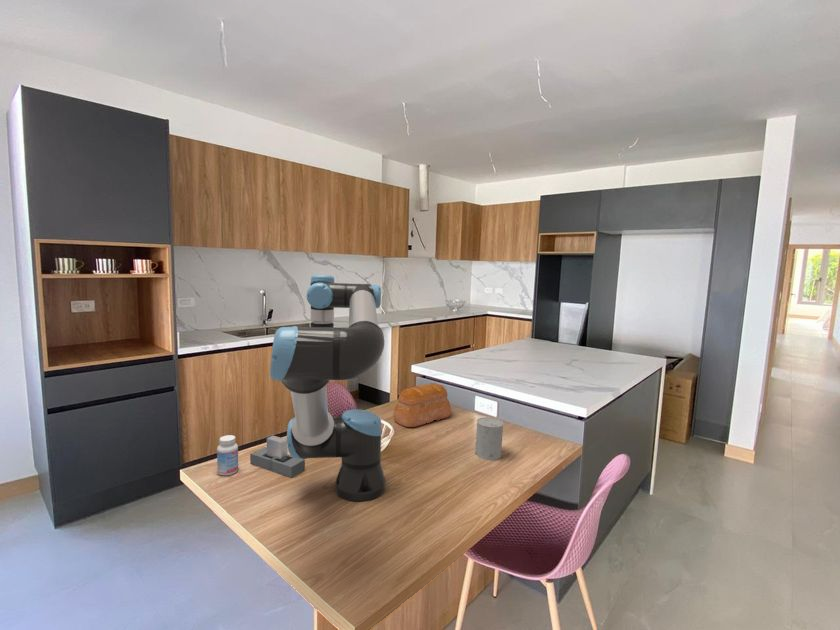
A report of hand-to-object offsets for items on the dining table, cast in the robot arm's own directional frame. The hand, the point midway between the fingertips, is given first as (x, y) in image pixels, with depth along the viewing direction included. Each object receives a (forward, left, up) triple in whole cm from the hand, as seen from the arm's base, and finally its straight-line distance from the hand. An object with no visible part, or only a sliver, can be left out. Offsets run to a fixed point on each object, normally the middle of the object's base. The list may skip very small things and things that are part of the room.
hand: (321, 384), depth 142 cm
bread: (-12, -54, -27) cm, 62 cm away
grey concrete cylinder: (-49, -35, -27) cm, 66 cm away
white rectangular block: (+9, +11, -26) cm, 30 cm away
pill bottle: (+20, +21, -27) cm, 40 cm away
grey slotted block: (+9, +11, -27) cm, 30 cm away
